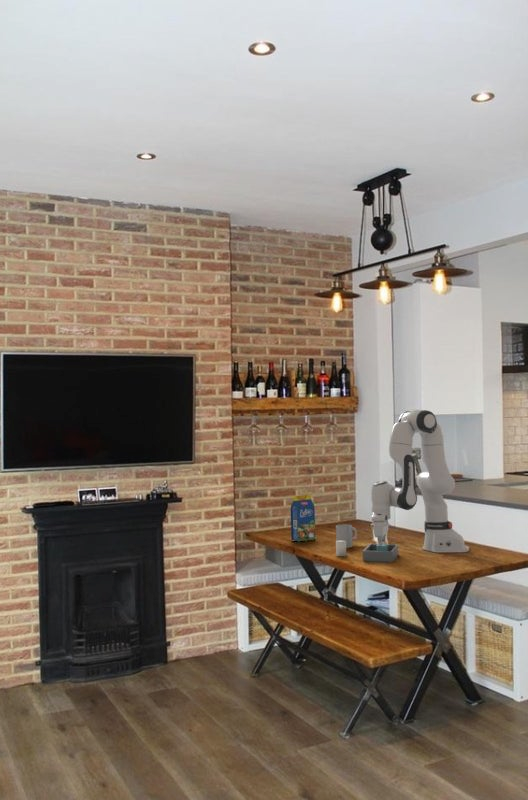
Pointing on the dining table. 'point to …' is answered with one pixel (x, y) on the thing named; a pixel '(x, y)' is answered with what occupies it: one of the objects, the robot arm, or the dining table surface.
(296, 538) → the blue food package
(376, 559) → the tote
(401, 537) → the dining table surface
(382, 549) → the block
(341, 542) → the canister
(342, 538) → the mug
